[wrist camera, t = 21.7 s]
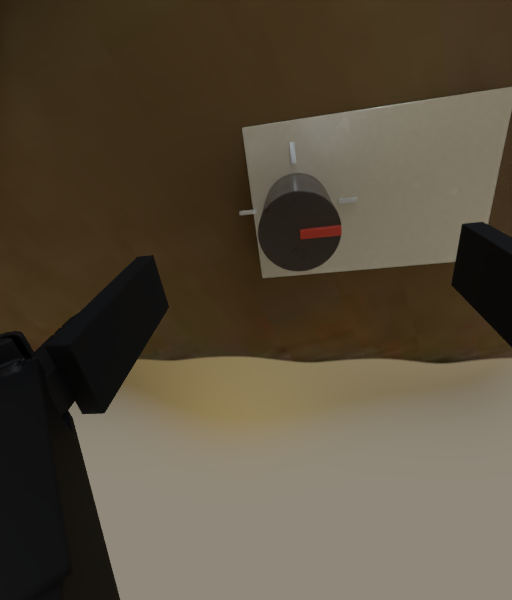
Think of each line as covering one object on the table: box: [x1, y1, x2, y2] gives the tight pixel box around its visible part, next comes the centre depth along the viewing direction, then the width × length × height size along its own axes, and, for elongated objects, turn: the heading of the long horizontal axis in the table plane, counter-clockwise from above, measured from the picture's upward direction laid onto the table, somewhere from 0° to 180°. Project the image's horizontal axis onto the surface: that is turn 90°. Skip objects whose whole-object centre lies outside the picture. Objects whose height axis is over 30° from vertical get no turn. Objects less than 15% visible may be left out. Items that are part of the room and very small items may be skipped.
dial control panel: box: [239, 87, 512, 278], centre depth 26 cm, size 19×12×2 cm, turn 98°
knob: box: [258, 173, 342, 272], centre depth 22 cm, size 5×5×7 cm
